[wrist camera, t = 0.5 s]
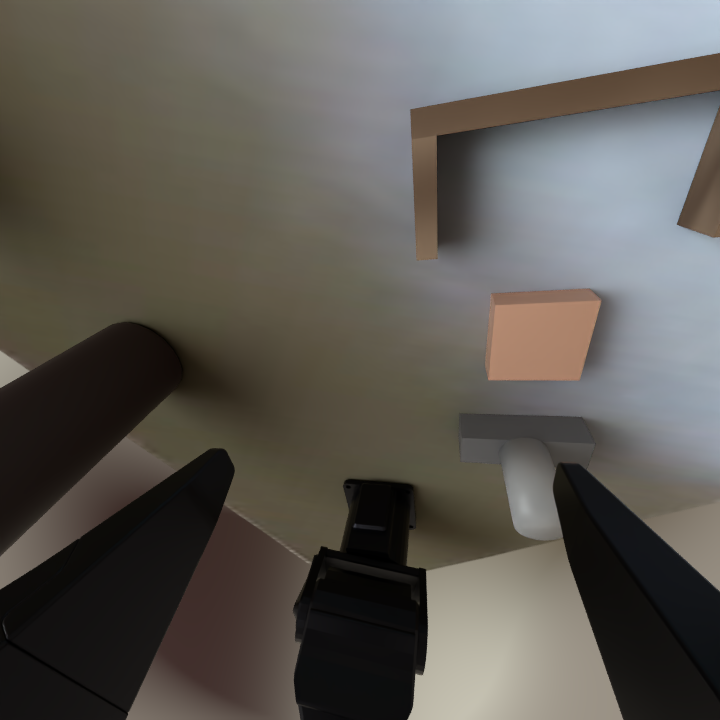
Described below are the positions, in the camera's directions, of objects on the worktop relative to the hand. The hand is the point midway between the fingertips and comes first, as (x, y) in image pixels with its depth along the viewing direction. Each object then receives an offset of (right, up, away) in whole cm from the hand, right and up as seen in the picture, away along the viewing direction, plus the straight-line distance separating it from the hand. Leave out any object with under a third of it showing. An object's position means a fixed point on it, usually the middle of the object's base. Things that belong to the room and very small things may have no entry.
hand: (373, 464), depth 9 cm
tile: (+10, +5, +11) cm, 16 cm away
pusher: (+11, -2, +15) cm, 19 cm away
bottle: (-18, +3, +18) cm, 26 cm away
